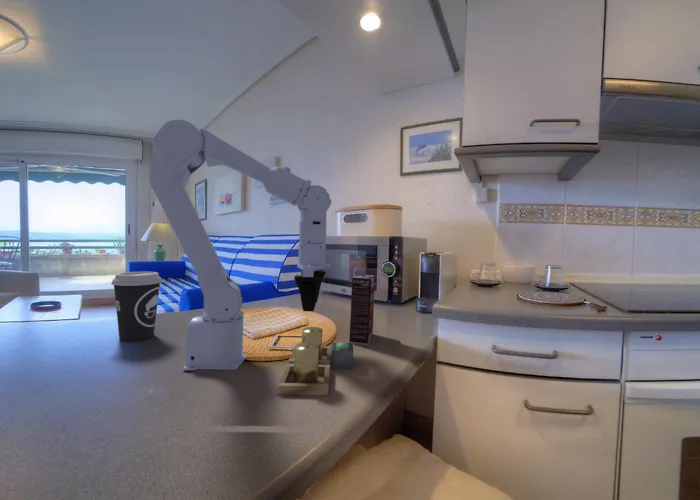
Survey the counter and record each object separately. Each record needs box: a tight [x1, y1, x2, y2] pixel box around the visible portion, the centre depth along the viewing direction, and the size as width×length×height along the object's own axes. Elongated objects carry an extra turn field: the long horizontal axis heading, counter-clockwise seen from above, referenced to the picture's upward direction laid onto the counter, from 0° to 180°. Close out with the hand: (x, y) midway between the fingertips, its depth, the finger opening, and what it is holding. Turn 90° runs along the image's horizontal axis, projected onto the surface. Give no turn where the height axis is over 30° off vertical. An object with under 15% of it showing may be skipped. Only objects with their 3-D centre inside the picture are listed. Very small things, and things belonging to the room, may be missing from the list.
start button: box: [336, 341, 349, 349], centre depth 55 cm, size 2×2×4 cm
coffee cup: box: [111, 271, 163, 343], centre depth 67 cm, size 10×10×15 cm
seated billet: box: [301, 326, 323, 360], centre depth 56 cm, size 4×4×6 cm
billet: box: [293, 342, 319, 384], centre depth 47 cm, size 4×4×6 cm
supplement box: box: [348, 273, 376, 346], centre depth 70 cm, size 9×5×16 cm, turn 168°
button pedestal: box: [331, 342, 354, 370], centre depth 55 cm, size 4×4×4 cm
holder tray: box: [276, 345, 332, 397], centre depth 52 cm, size 8×17×2 cm, turn 2°
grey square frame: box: [267, 332, 301, 349], centre depth 66 cm, size 9×9×1 cm
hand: (310, 306), depth 62 cm, fingers open, 7 cm apart
